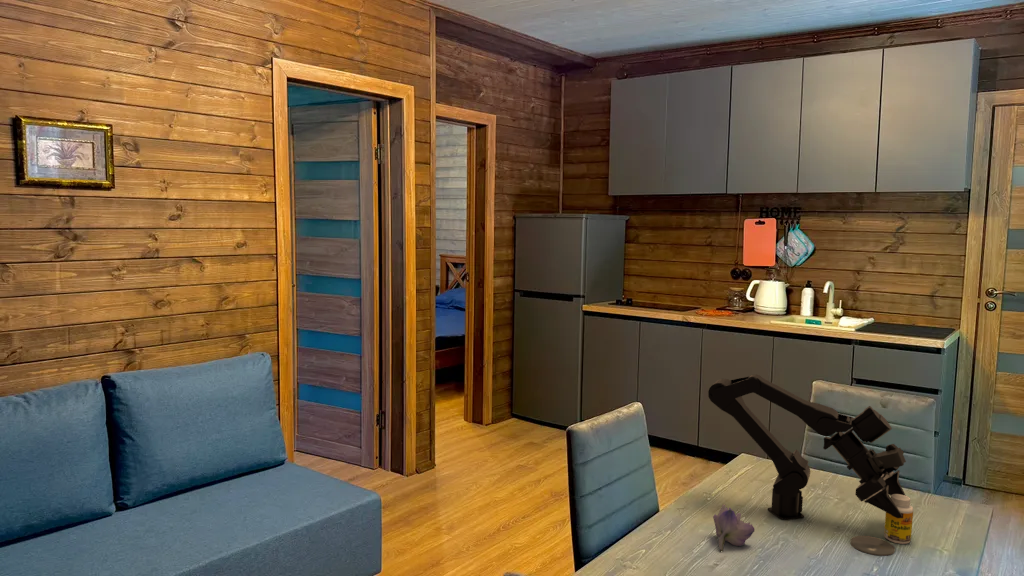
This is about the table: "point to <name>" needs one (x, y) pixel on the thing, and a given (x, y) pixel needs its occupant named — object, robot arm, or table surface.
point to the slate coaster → (872, 545)
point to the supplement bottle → (899, 521)
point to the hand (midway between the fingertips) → (904, 511)
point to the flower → (731, 528)
